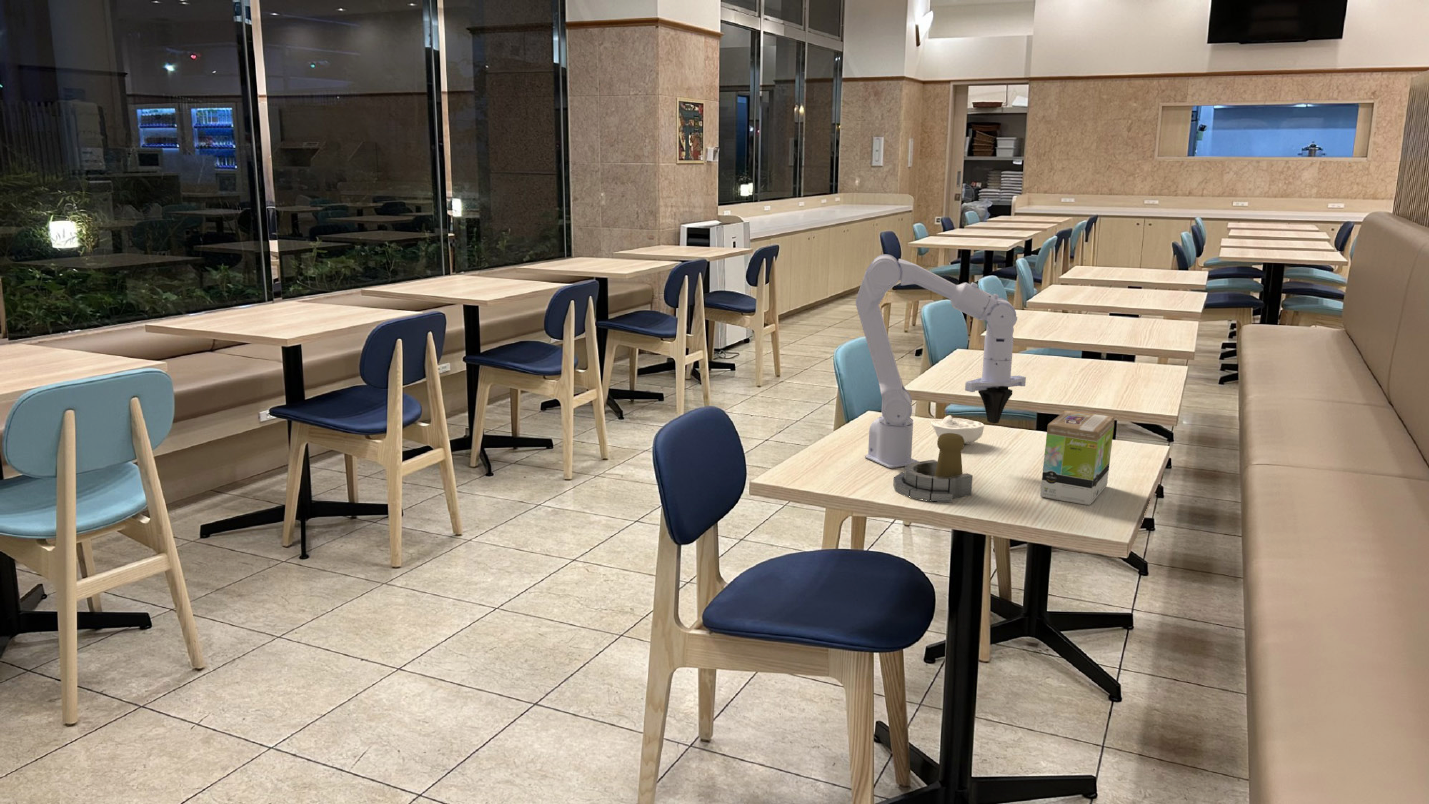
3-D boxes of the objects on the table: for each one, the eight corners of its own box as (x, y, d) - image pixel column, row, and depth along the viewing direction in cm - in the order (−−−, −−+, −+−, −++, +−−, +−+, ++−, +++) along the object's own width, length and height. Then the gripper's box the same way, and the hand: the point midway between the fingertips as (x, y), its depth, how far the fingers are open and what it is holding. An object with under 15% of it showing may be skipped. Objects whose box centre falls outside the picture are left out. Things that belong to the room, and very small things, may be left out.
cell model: (989, 450, 235) (991, 421, 234) (936, 450, 235) (937, 420, 233) (976, 438, 245) (978, 410, 244) (925, 438, 245) (927, 410, 243)
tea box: (1092, 506, 197) (1099, 430, 194) (1038, 497, 202) (1044, 423, 199) (1108, 486, 210) (1115, 414, 206) (1057, 478, 215) (1063, 408, 212)
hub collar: (878, 483, 210) (879, 464, 209) (926, 475, 215) (927, 457, 214) (927, 506, 196) (929, 486, 195) (977, 498, 202) (979, 478, 201)
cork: (964, 493, 204) (968, 438, 202) (933, 491, 205) (936, 437, 203) (962, 484, 210) (966, 431, 208) (931, 482, 211) (935, 429, 209)
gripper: (983, 364, 210) (978, 430, 213) (1038, 359, 216) (1032, 422, 219) (960, 358, 216) (956, 422, 219) (1014, 353, 222) (1009, 415, 225)
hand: (993, 422), depth 219 cm, fingers closed
